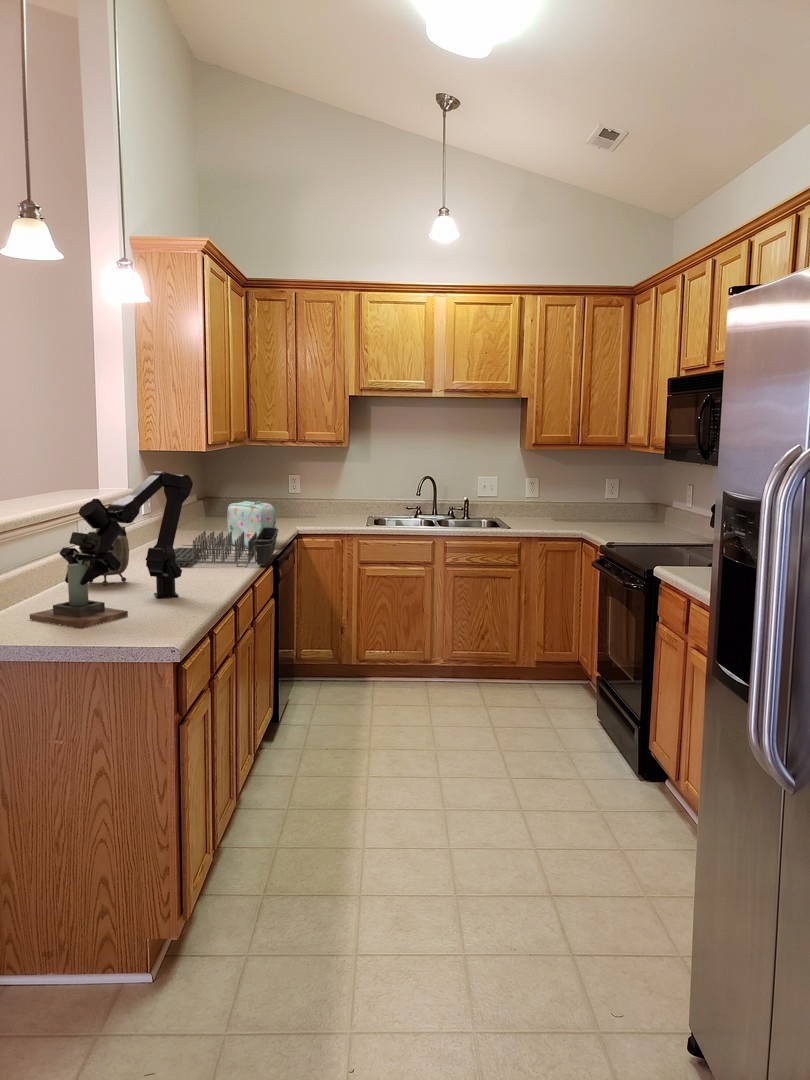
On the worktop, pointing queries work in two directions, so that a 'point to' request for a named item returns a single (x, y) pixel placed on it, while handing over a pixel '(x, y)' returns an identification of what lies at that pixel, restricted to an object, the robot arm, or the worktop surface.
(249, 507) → the lunch box
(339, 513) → the worktop surface
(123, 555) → the tabletop clock
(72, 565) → the grey-green canister
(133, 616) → the worktop surface
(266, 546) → the dish rack
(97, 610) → the walnut seat board
